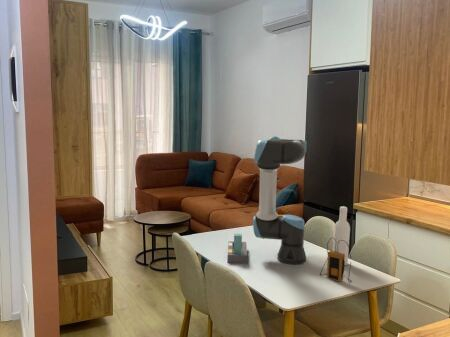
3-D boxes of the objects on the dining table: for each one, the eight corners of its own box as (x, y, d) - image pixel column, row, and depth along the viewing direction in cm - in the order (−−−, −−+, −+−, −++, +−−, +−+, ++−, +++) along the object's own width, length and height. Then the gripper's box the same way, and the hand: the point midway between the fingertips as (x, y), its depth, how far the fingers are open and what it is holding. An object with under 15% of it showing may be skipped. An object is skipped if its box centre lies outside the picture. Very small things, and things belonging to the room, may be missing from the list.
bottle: (338, 266, 226) (341, 209, 222) (328, 261, 233) (332, 205, 229) (350, 265, 229) (354, 208, 225) (341, 260, 236) (345, 205, 232)
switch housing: (228, 248, 250) (228, 240, 249) (245, 249, 250) (246, 241, 249) (227, 262, 226) (227, 254, 225) (246, 263, 226) (247, 255, 225)
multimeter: (357, 279, 209) (360, 238, 207) (347, 284, 202) (350, 242, 199) (329, 271, 219) (331, 231, 216) (319, 276, 212) (321, 235, 209)
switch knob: (233, 253, 234) (233, 233, 233) (241, 253, 234) (242, 233, 233) (233, 256, 229) (233, 235, 228) (241, 256, 229) (242, 236, 228)
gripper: (283, 170, 265) (275, 207, 258) (262, 167, 270) (254, 203, 263) (280, 165, 258) (272, 203, 251) (259, 162, 263) (250, 200, 256)
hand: (262, 203), depth 257 cm, fingers closed
